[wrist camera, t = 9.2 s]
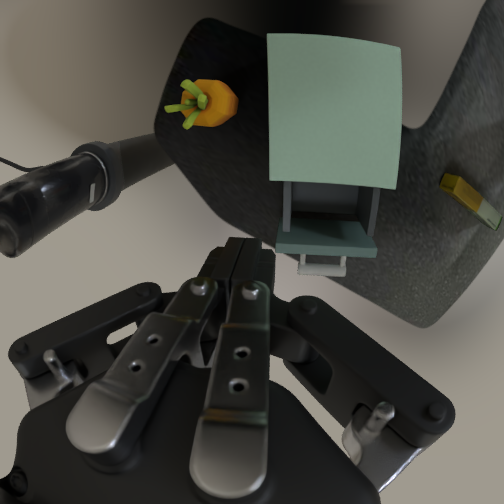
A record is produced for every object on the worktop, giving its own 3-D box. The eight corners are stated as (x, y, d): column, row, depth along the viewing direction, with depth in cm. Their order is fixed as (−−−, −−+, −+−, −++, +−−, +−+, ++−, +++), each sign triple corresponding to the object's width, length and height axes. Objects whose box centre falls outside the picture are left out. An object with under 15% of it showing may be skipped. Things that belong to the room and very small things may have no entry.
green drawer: (357, 257, 37) (368, 289, 31) (278, 253, 39) (274, 285, 32) (371, 130, 29) (392, 135, 22) (280, 123, 30) (276, 125, 24)
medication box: (489, 210, 31) (503, 217, 27) (482, 224, 32) (496, 232, 28) (445, 171, 30) (460, 175, 26) (437, 187, 31) (452, 193, 27)
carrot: (236, 130, 32) (196, 142, 19) (204, 113, 32) (147, 115, 19) (256, 98, 30) (229, 87, 17) (223, 81, 29) (175, 61, 16)
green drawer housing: (371, 170, 32) (395, 189, 24) (275, 163, 34) (269, 180, 25) (374, 62, 25) (400, 47, 17) (274, 54, 27) (266, 33, 19)
